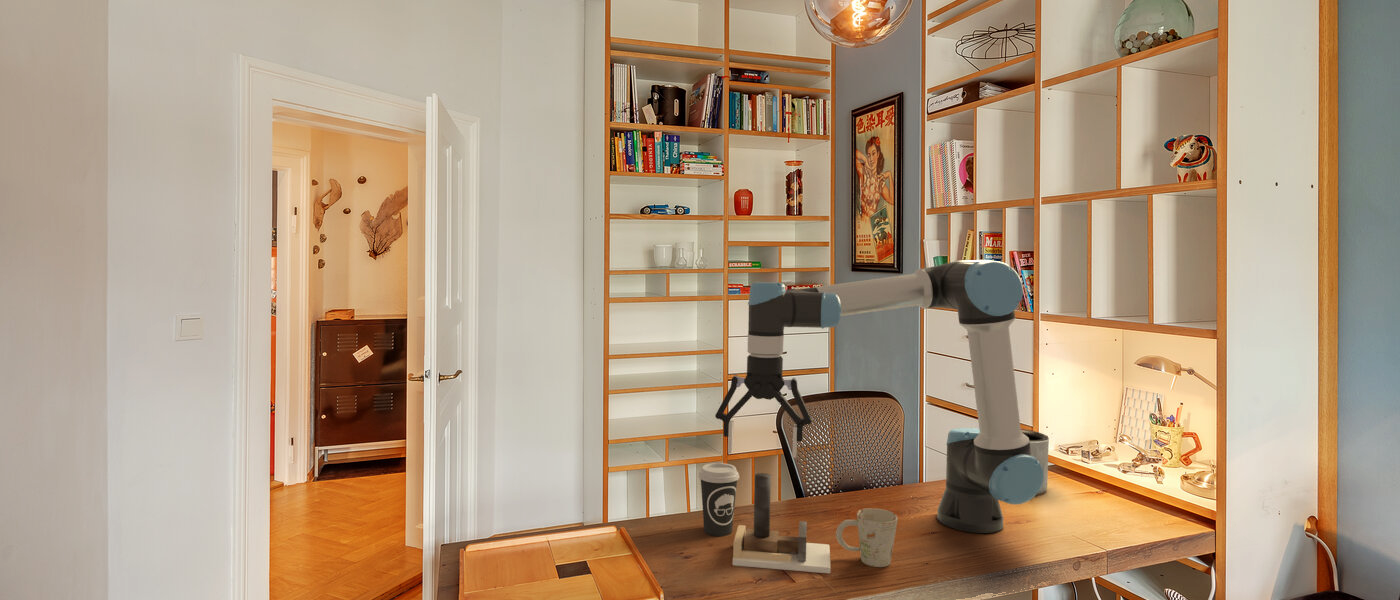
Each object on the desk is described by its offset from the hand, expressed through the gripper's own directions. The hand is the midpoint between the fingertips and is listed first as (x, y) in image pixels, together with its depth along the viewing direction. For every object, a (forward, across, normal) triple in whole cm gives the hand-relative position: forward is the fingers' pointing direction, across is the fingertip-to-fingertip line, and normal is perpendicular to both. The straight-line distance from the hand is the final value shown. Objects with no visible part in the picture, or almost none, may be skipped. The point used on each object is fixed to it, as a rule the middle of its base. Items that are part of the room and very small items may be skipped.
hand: (762, 454), depth 149 cm
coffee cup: (+22, +11, -12) cm, 28 cm away
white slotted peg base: (+22, -5, 0) cm, 23 cm away
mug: (+22, -22, -2) cm, 32 cm away
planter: (+22, -68, -61) cm, 94 cm away
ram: (+21, -3, 0) cm, 21 cm away
